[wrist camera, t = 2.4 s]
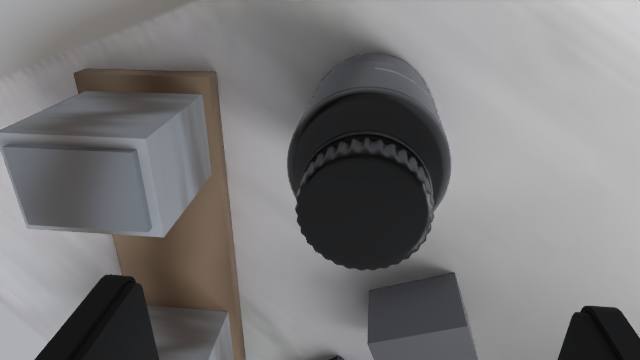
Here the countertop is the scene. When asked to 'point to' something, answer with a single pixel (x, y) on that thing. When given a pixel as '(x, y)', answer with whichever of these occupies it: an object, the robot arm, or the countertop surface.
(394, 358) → the block
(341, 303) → the countertop surface
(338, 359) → the disk drive
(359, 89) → the supplement bottle
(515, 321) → the countertop surface
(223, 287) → the rail
